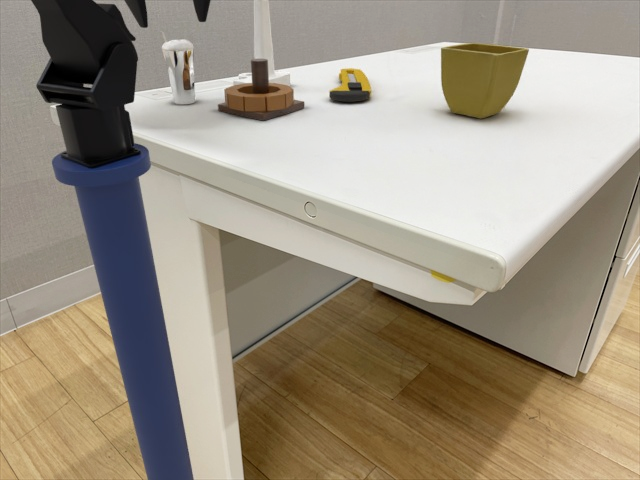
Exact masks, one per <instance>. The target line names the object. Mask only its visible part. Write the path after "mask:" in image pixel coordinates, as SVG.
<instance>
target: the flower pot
mask: <svg viewBox="0 0 640 480" xmlns="http://www.w3.org/2000/svg"><path fill="white" fill-rule="evenodd" d="M529 52H530V48H526V47H517V46H508V45H500V44H499V45H498V44H488V43H480V42H468V43H460V44H455V45H447V46H443V47H441V48H440V82H441V89H442V94H443V96H444V100H445V103H446V104H447V107H448V109H449V110H450V112H451V113H453V114H456V115H458V114H459V115H463V116H468V117H472V118H477V119H485V118H489V117H490V116H494V115H497V114H499V113H500V112H502V110H503V109H504V108H505V107H506V106H507V104H508V103H509V102H510V100H511V98H512V97H513V95H514V94H515V92H516V90H517V88H518V85H519V83H520V80H521V77H522V74H523V70H524V67H525V65H526V62H527V57H528V55H529Z"/></svg>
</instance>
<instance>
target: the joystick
mask: <svg viewBox="0 0 640 480" xmlns="http://www.w3.org/2000/svg"><path fill="white" fill-rule="evenodd" d="M270 10H271V9H270V0H253V56H254V57H253V59H267V60H268V75H269V83H277V84H283V85H288V86H290V87H291V72H288V71H281V70H280V71H279V70H276V69H275V59H274V58H275V57H274V46H273V35H272V33H273V32H272V24H271V11H270ZM247 83H252V73H251V72H242V73H239V74H238V79H233V80H232V86H233V85H239V84H247Z"/></svg>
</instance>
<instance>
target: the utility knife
mask: <svg viewBox="0 0 640 480" xmlns="http://www.w3.org/2000/svg"><path fill="white" fill-rule="evenodd" d="M338 80H339V81H341V85H340V86H337V87H334V88H333V89H330V90H329V91H328V93H329V98H330V99H331V100H333V101H338V102H351V103H353V102H361V101H366V100H368V99H369V98H371V96H372V87H371V84H370V82H369V79H368V78H367V75H366V74H365V73H364V71H362V70H361V69H359V68H341V69H340V72H339V73H338Z"/></svg>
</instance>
